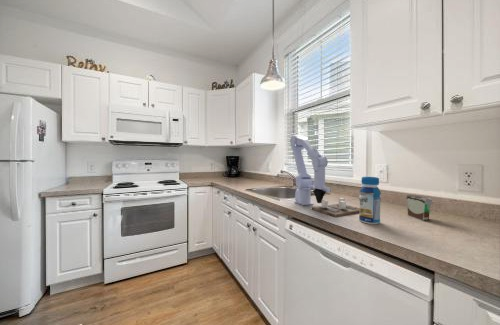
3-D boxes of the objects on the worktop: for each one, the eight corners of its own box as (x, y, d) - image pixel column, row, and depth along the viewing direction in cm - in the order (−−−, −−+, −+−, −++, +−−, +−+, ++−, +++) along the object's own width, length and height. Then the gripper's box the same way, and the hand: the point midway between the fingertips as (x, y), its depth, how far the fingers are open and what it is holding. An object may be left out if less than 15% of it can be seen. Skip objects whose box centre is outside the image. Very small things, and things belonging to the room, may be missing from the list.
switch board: (311, 209, 114) (311, 206, 114) (339, 205, 123) (339, 203, 123) (335, 216, 99) (335, 213, 99) (364, 211, 109) (364, 209, 109)
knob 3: (339, 208, 109) (339, 201, 109) (342, 207, 110) (342, 200, 110) (342, 208, 107) (342, 202, 107) (345, 208, 108) (345, 201, 108)
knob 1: (321, 206, 112) (321, 200, 112) (325, 206, 113) (325, 199, 113) (324, 207, 110) (324, 200, 110) (327, 207, 111) (327, 200, 111)
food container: (439, 222, 92) (440, 200, 91) (425, 222, 92) (426, 199, 92) (417, 214, 104) (418, 195, 104) (405, 214, 104) (405, 194, 104)
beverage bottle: (384, 225, 87) (384, 178, 87) (362, 224, 89) (363, 178, 88) (376, 219, 95) (376, 176, 95) (356, 218, 97) (356, 176, 97)
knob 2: (338, 204, 117) (338, 198, 117) (341, 204, 118) (341, 197, 118) (341, 205, 115) (341, 198, 115) (344, 204, 117) (344, 198, 116)
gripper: (305, 177, 119) (304, 201, 120) (324, 180, 106) (323, 206, 107) (314, 177, 122) (314, 200, 123) (333, 179, 109) (333, 205, 110)
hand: (319, 202), depth 115 cm, fingers closed
